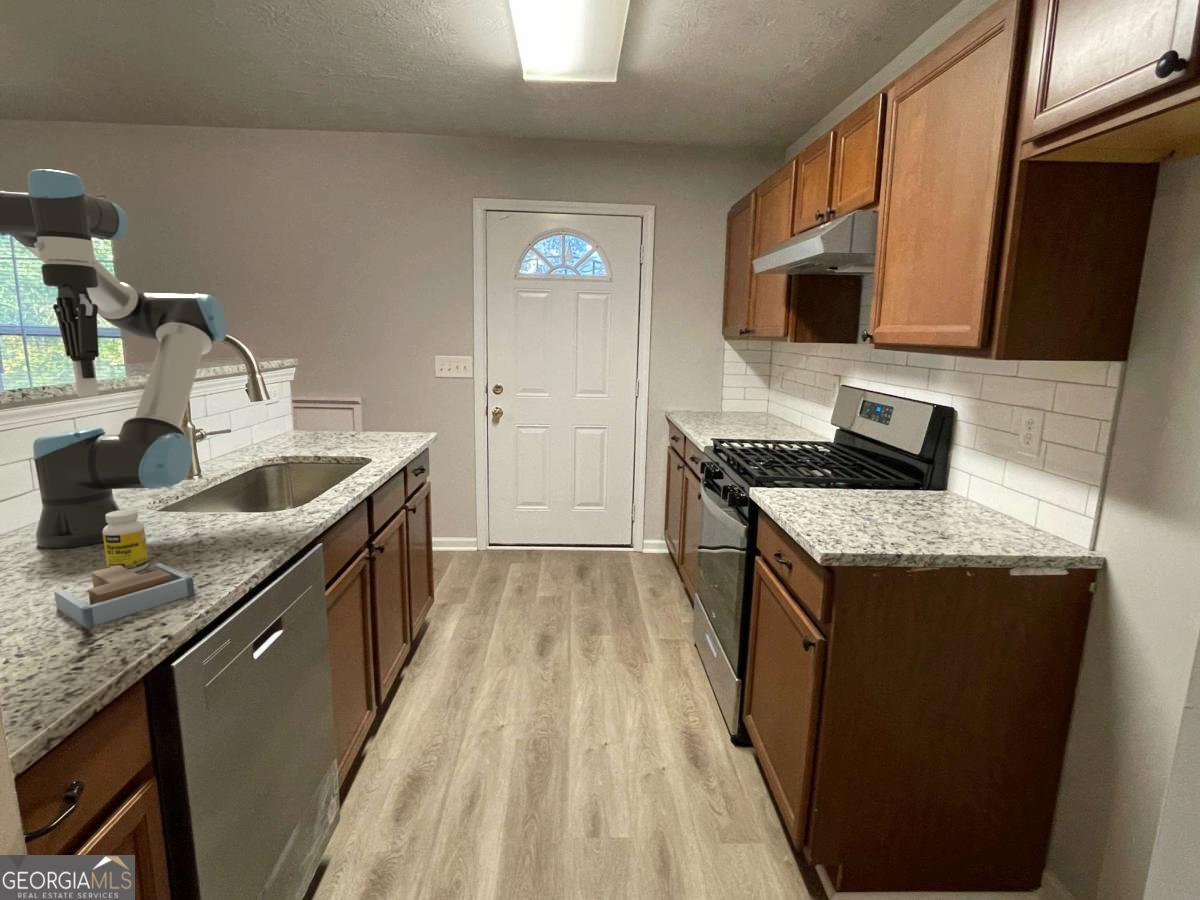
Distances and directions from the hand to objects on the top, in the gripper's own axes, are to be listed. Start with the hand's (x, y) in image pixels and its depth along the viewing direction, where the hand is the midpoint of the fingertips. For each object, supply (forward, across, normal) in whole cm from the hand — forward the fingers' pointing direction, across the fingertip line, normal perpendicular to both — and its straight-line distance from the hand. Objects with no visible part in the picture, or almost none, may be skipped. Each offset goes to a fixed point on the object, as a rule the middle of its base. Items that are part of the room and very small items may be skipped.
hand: (88, 395), depth 115 cm
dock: (+32, +25, -7) cm, 41 cm away
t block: (+32, +23, -7) cm, 40 cm away
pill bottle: (+32, +9, -1) cm, 33 cm away
